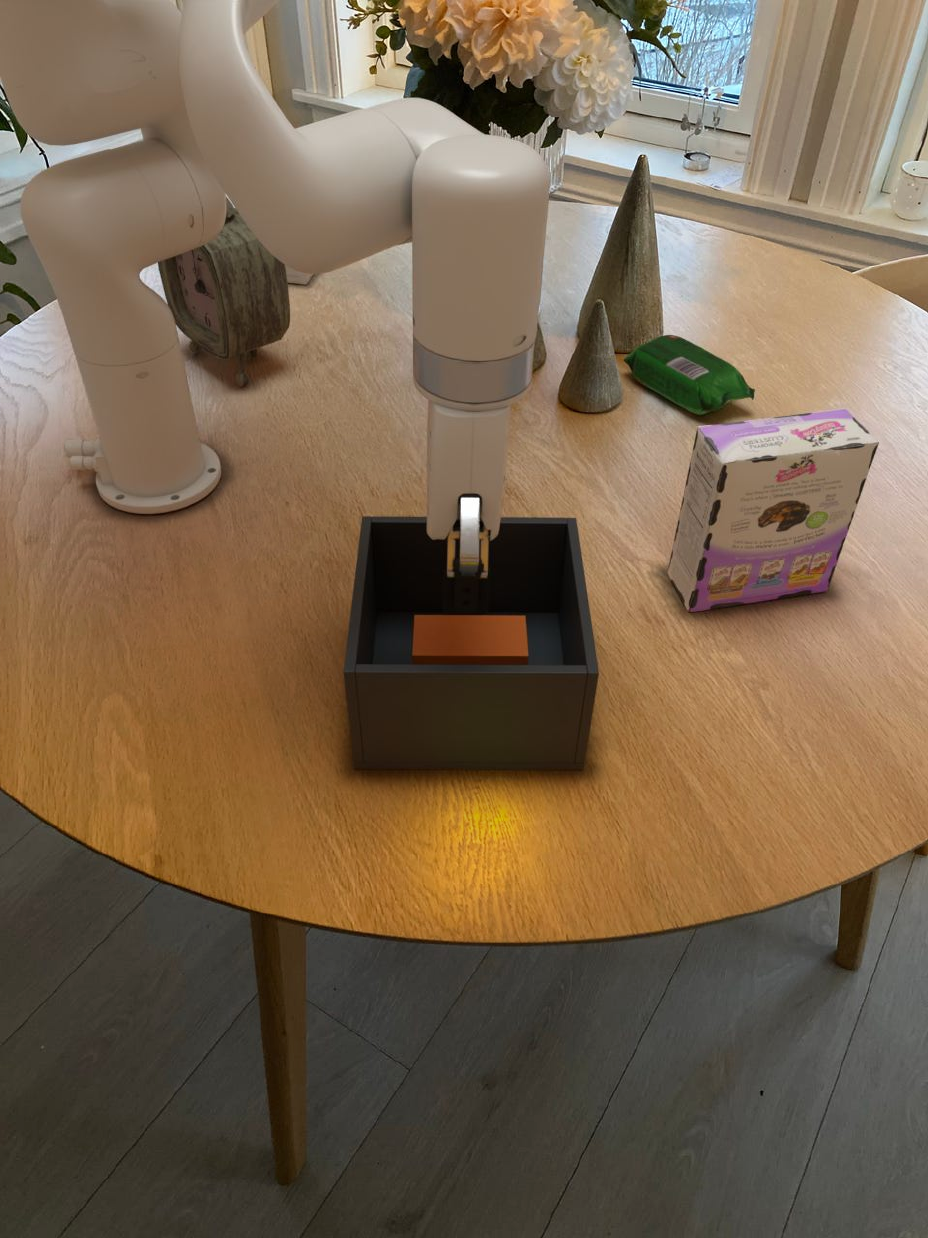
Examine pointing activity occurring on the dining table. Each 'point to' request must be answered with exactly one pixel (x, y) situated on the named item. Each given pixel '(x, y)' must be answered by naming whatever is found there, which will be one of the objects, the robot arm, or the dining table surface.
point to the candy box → (768, 507)
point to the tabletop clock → (228, 294)
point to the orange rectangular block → (470, 640)
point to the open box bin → (470, 694)
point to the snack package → (687, 374)
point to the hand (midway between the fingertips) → (464, 566)
